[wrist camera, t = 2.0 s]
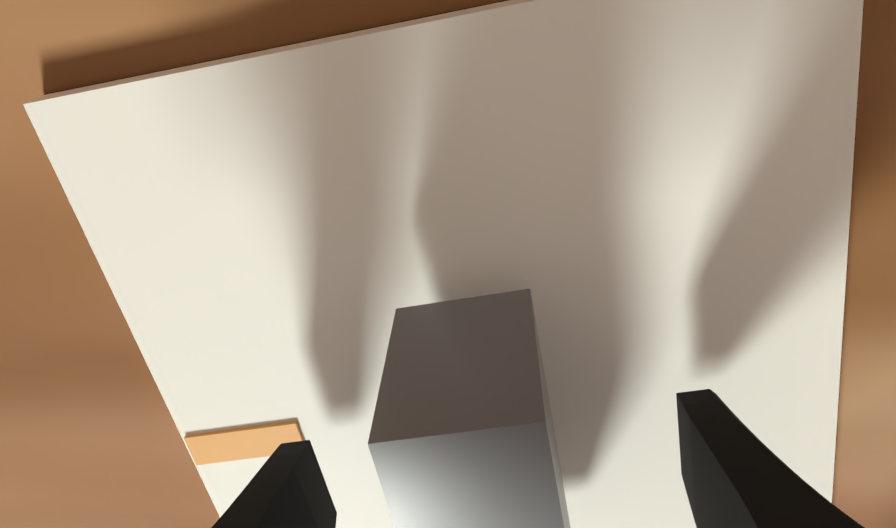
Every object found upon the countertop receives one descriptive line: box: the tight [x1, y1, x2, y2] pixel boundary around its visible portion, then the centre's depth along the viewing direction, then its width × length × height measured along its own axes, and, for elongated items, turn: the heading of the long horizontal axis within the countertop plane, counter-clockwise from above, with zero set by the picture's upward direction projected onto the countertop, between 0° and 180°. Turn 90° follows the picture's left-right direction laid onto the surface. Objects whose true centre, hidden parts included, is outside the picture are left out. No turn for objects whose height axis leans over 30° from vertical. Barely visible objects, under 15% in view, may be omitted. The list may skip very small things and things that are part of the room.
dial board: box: [23, 0, 864, 528], centre depth 15 cm, size 16×14×1 cm
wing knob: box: [368, 289, 570, 528], centre depth 13 cm, size 7×2×5 cm, turn 11°
